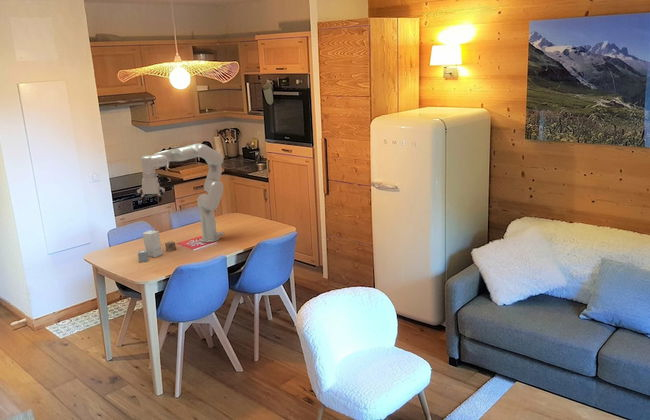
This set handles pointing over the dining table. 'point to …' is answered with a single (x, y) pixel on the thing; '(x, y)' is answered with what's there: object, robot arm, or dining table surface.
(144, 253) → the slate block dot
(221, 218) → the dining table surface
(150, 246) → the skincare box
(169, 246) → the walnut block dot
